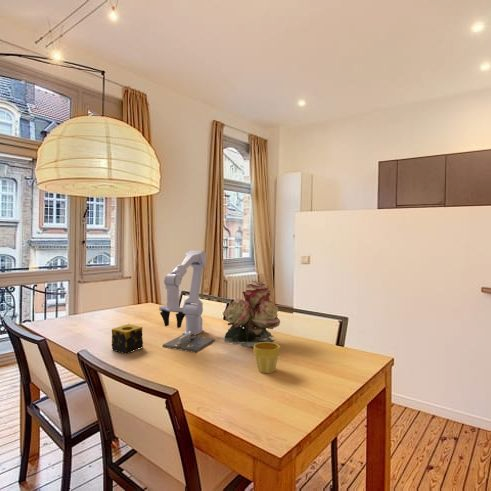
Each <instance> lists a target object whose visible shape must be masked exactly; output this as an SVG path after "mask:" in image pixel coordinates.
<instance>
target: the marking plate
mask: <svg viewBox="0 0 491 491" xmlns="http://www.w3.org/2000/svg"><path fill="white" fill-rule="evenodd" d="M184 335H185V334H181V335H180V336H178V337H175V338H174V339H171V340H170V341H166V343H163V344H162V347H163V346H165V347H164V348H167V347H171V348H170V349H173V348H176V349H175V350H179V349H182V350H181V351H185V350H187V351H186V352H191V351H192V352H193V353H197V352H198V351H200V350H202V349H203V348H205V347H206V346H208V345H210V344H211V343H213V342H215V338H211V337H205V336H199V335H194V336H191V337H189V338H188V339H186V340H185V341H183V342H182V343H181V345H179V343H178V339H179V338H180V337H182V336H184Z"/></svg>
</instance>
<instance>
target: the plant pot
mask: <svg viewBox="0 0 491 491" xmlns="http://www.w3.org/2000/svg"><path fill="white" fill-rule="evenodd" d="M280 352H281V346H280V345H279V344H278V343H275V342H272V343H271V342H260V343H256V344H255V345H254V347H253V355H254V356H255V361H256V364H257V370H258V372H260V373H263V374H272V373H274V372H275V371H276V366H277V362H278V357H279V356H280V354H281V353H280Z"/></svg>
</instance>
